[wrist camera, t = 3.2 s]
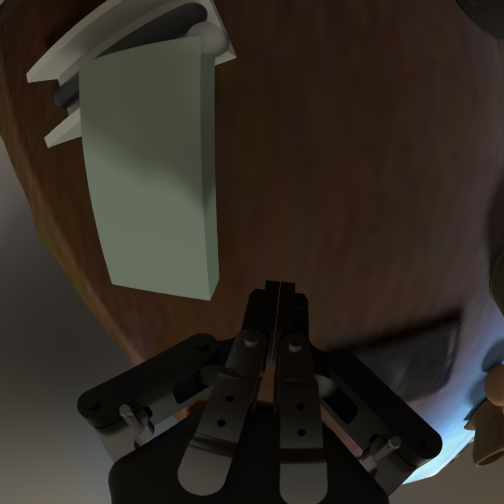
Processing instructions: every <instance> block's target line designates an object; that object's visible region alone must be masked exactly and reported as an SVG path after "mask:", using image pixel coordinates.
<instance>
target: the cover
mask: <svg viewBox="0 0 504 504" xmlns="http://www.w3.org/2000/svg"><path fill="white" fill-rule="evenodd" d="M229 45H230V39H229V37H228V35H227V34H226V33H225V32H224V31H223V30H221V29H220V28H219V27H218V26H216V25H215V24H213V23H211V22H200V23H197V24H195V25H194V26H192V27H191V28H190V30H189V31H188V33H187V35H186V38H180V39H174V40H168V41H162V42H157V43H152V44H147V45H143V46H139V47H134V48H130V49H126V50H123V51H119V52H115V53H112V54H108V55H105V56H102V57H99V58H96V59H93V60H90V61H87V62H84V63H81V64H79V100H80V118H81V131H82V141H83V150H84V158H85V166H86V172H87V179H88V185H89V191H90V196H91V201H92V207H93V211H94V216H95V221H96V225H97V230H98V234H99V238H100V242H101V246H102V250H103V254H104V257H105V261H106V264H107V268H108V271H109V275H110V278H111V281H112V284H115V285H120V286H126V287H131V288H136V289H142V290H148V291H153V292H159V293H165V294H171V295H177V296H184V297H190V298H197V299H203V300H210V299H211V297H212V295H213V292H214V290H215V287H216V285H217V283H218V280H219V266H218V245H217V220H216V189H215V128H214V97H215V57H218V56H220V55H222V54H224V53H225V52H226V51H227V49H228V48H229Z"/></svg>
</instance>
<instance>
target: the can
mask: <svg viewBox="0 0 504 504" xmlns="http://www.w3.org/2000/svg"><path fill="white" fill-rule="evenodd" d="M489 285H490V294H491V296H492V298H493V300H494V301H495V302H496V304H497V306H498V308H499V309H500V311H501V313H502V314H503V316H504V247H503V248H502V250H501V252H500V253H499V255H498V257H497V259H496V261H495V264H494V266H493V269H492V273H491V277H490V284H489Z"/></svg>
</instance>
